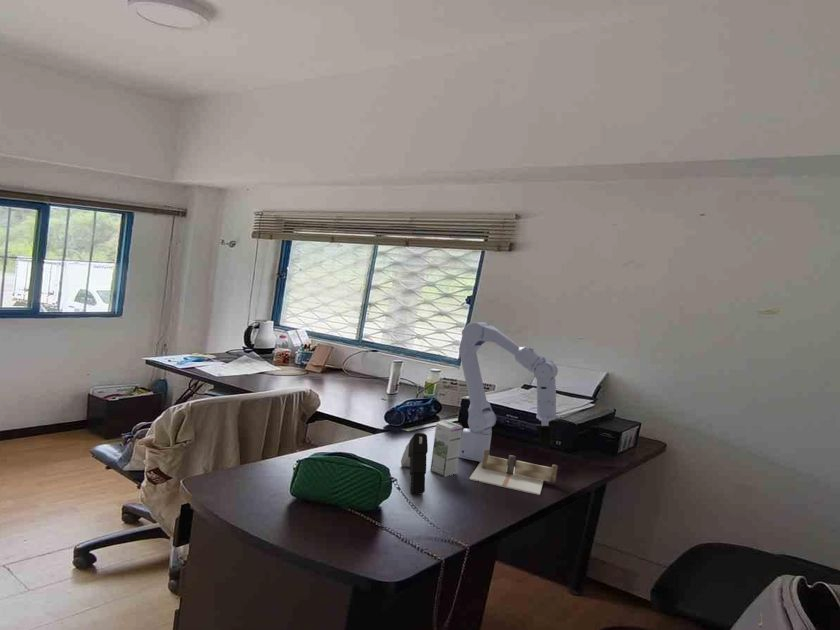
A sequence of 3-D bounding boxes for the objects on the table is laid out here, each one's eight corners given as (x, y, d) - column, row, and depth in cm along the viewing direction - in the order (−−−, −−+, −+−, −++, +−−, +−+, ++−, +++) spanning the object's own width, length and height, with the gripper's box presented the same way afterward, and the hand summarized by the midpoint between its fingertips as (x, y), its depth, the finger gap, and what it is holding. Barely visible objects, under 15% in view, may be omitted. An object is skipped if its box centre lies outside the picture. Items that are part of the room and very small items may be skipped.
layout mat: (469, 479, 165) (469, 477, 165) (481, 461, 184) (482, 459, 184) (539, 495, 159) (540, 493, 159) (545, 474, 178) (545, 473, 178)
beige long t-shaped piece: (513, 474, 172) (516, 458, 172) (514, 472, 174) (516, 456, 174) (555, 483, 169) (557, 466, 169) (555, 481, 170) (557, 465, 170)
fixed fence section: (481, 468, 175) (483, 451, 175) (482, 466, 177) (484, 449, 176) (512, 475, 172) (515, 457, 172) (513, 473, 174) (516, 456, 174)
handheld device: (411, 490, 145) (413, 431, 151) (397, 502, 164) (400, 449, 171) (426, 491, 145) (428, 432, 152) (411, 503, 165) (413, 450, 172)
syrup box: (457, 474, 168) (463, 425, 167) (444, 477, 164) (450, 427, 163) (442, 467, 172) (448, 420, 171) (429, 471, 168) (435, 422, 167)
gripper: (558, 404, 168) (559, 451, 167) (560, 398, 182) (561, 441, 181) (534, 403, 170) (534, 450, 169) (538, 397, 183) (538, 440, 183)
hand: (546, 445), depth 175 cm, fingers open, 7 cm apart
